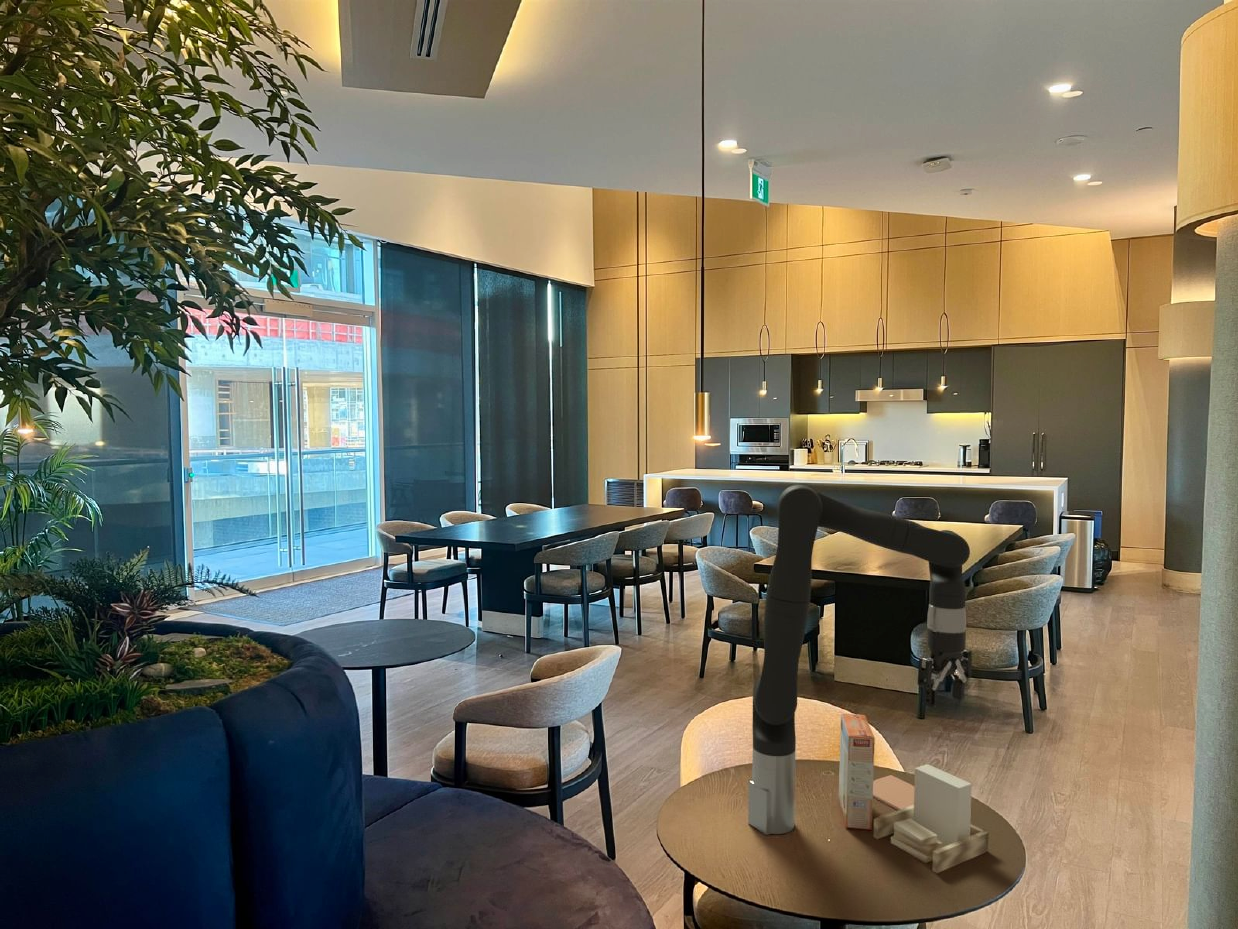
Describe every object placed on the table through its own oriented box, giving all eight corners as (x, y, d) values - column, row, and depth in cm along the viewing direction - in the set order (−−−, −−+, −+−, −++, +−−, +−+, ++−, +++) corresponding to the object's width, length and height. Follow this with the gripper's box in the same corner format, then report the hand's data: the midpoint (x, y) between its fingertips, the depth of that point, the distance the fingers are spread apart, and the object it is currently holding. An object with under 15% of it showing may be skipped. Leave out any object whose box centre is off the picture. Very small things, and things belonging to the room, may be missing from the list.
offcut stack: (926, 864, 164) (926, 843, 163) (890, 844, 172) (890, 823, 171) (943, 857, 166) (943, 836, 166) (907, 837, 174) (907, 817, 174)
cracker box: (873, 831, 176) (875, 737, 175) (845, 829, 177) (846, 735, 176) (864, 801, 190) (866, 713, 189) (837, 799, 191) (839, 712, 190)
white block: (957, 854, 167) (958, 788, 166) (913, 831, 176) (914, 768, 176) (969, 849, 169) (971, 783, 168) (925, 826, 178) (927, 764, 178)
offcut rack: (936, 873, 160) (937, 853, 160) (873, 837, 174) (874, 818, 174) (988, 851, 168) (988, 832, 168) (923, 818, 182) (924, 801, 182)
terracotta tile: (910, 816, 183) (910, 814, 183) (856, 788, 196) (856, 786, 196) (945, 804, 189) (945, 801, 189) (890, 777, 202) (890, 775, 202)
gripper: (953, 618, 177) (951, 691, 178) (908, 627, 170) (906, 703, 171) (984, 626, 170) (981, 702, 171) (939, 635, 163) (937, 714, 164)
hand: (944, 702), depth 171 cm, fingers open, 8 cm apart
